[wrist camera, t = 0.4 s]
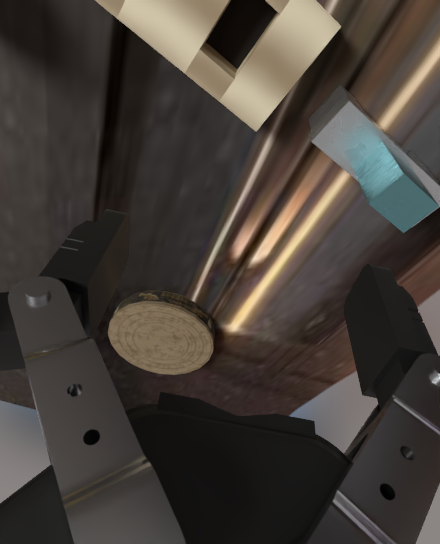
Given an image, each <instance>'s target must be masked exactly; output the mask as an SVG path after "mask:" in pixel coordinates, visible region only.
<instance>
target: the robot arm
mask: <svg viewBox="0 0 440 544" xmlns="http://www.w3.org/2000/svg"><path fill="white" fill-rule="evenodd" d="M129 239H130V215H129V214H128V213H123V212H119V211H114V210H109V209H106V210H105V211H104V212H103V213H102V215H101V216H100V218H99V219H98V221H97V222H92V221H85V222H84V223H82V224H80V225H78V226H77V227H75V228H74V229H73V230H72V232H71V233H70V234H69V236H68V237H67V240H65V241H64V243H63V244H62V245H61V248H59V249H58V251H57V252H56V253H55V255H54V256H53V257H52V259H51V260H50V261H49V263H48V264H47V265H46V267H45V268H44V270H43V271H42V272H41V274H40V275H39V276H38V277H32V278H28V279H25V280H23V281H21V282H19V283H18V284H16V285H15V286H14V287H13V288H12V289H11V290H10V292H4V293H0V371H1V370H12V369H22V368H25V369H26V373H27V376H28V380H29V384H30V388H31V391H32V395H33V399H34V403H35V406H36V410H37V413H38V417H39V421H40V425H41V429H42V432H43V436H44V440H45V444H46V448H47V452H48V455H49V459H50V463H51V465H50V466H49V467H47V468H46V469H45V470H43V471H42V472H41V473H40V474H38V475H37V476H36V477H34V478H33V479H32V480H30V481H29V482H28V483H27V484H25V485H24V486H23V487H21V488H20V489H19V490H17V491H16V492H15V493H13V494H12V495H11V496H9V498H7V499H6V500H4V501H3V502H2V503H0V544H416V541H417V538H418V536H419V534H420V531H421V529H422V526H423V524H424V521H425V519H426V516H427V514H428V511H429V509H430V506H431V504H432V501H433V499H434V496H435V493H436V491H437V489H438V486H439V484H440V356H438V354H437V351H436V349H435V347H434V345H433V342H432V340H431V338H430V336H429V334H428V331H427V329H426V326H425V324H424V323H423V322H422V321H423V320H422V317H421V315H420V313H418V308H417V306H416V304H415V302H414V299H413V298H412V297H411V295H410V294H409V293H408V292H407V291H406V290H405V289H404V288H403V287H402V286H398V284H397V282H396V279H395V277H394V274H393V272H392V270H391V269H388V268H384V267H379V266H374V265H369V264H367V265H365V266H364V268H363V269H362V271H361V273H360V274H359V276H358V278H357V280H356V282H355V283H354V285H353V287H352V289H351V291H350V292H349V294H348V296H347V298H346V301H345V306H344V315H345V319H346V324H347V328H348V333H349V337H350V342H351V346H352V351H353V355H354V360H355V364H356V369H357V373H358V378H359V382H360V387H361V391H362V395H364V396H370V397H374V398H377V400H378V405H377V406H376V408H375V409H374V410H373V411H372V413H371V414H370V416H369V418H368V419H367V420H366V422H365V424H364V425H363V426H362V428H361V429H360V431H359V432H358V434H357V436H356V437H355V439H354V440H353V441H352V443H351V444H350V446H349V447H348V449H347V450H346V452H345V453H344V454H343V453H342V452H341V451H340V450H339V449H338V448H337V447H335V446H334V445H333V444H331V443H330V442H329V441H327V440H325V439H324V438H322V437H320V436H318V435H316V434H315V425H314V421H311V420H306V419H300V418H295V417H290V416H285V415H279V414H269V415H253V416H236V415H233V414H231V413H229V412H226V411H224V410H222V409H220V408H217V407H215V406H213V405H211V404H209V403H206V402H204V401H202V400H200V399H196V398H190V397H185V396H180V395H175V394H169V393H164V392H161V393H160V397H159V401H158V403H156V404H147V405H142V406H138V407H135V408H131V409H129V410H127V411H125V410H124V408H123V406H122V403H121V401H120V399H119V396H118V394H117V392H116V389H115V387H114V385H113V383H112V380H111V378H110V376H109V373H108V371H107V369H106V366H105V364H104V362H103V359H102V357H101V355H100V353H99V350H98V348H97V346H96V343H95V341H94V340H93V336H94V334H95V332H96V329H97V327H98V325H99V323H100V321H101V319H102V317H103V315H104V312H105V310H106V308H107V306H108V304H109V302H110V300H111V298H112V296H113V293H114V291H115V289H116V287H117V285H118V283H119V281H120V279H121V276H122V274H123V272H124V270H125V268H126V265H127V261H128V256H129Z"/></svg>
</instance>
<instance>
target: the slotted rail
mask: <svg viewBox="0 0 440 544" xmlns="http://www.w3.org/2000/svg"><path fill="white" fill-rule="evenodd" d="M95 1H96V2H98V3H99V4H100V5H101V6H102V7H104V8H105V9H106V10H107V11H109V12H110V13H111V14H112V15H114V16H115V17H116V18H117V19H118V20H120V21H121V22H122V23H123V24H125V25H126V26H127V27H128V28H129V29H131V30H132V31H133V32H134V33H136V34H137V35H138V36H139V37H141V38H142V39H143V40H144V41H145V42H147V43H148V44H149V45H150V46H152V47H153V48H154V49H155V50H157V51H158V52H159V53H160V54H161V55H163V56H164V57H165V58H166V59H168V60H169V61H170V62H171V63H172V64H174V65H175V66H176V67H177V68H179V69H180V70H181V71H182V72H184V73H185V74H186V75H187V76H188V77H190V78H191V79H192V80H193V81H195V82H196V83H197V84H198V85H200V86H201V87H202V88H203V89H204V90H206V91H207V92H208V93H209V94H211V95H212V96H213V97H214V98H216V99H217V100H218V101H219V102H220V103H222V104H223V105H224V106H225V107H227V108H228V109H229V110H230V111H231V112H233V113H234V114H235V115H236V116H238V117H239V118H240V119H241V120H243V121H244V122H245V123H246V124H247V125H249V126H250V127H251V128H252V129H254V130H255V131H257V130H258V129H259V128H260V126H261V125H262V124H263V123H264V122H265V120H266V119H267V118H268V117H269V115H270V114H271V113H272V112H273V110H274V109H275V108H276V107H277V105H278V104H279V103H280V102H281V101H282V99H283V98H284V97H285V96H286V94H287V93H288V92H289V91H290V89H291V88H292V87H293V86H294V84H295V83H296V82H297V81H298V80H299V78H300V77H301V76H302V75H303V73H304V72H305V71H306V70H307V68H308V67H309V66H310V65H311V63H312V62H313V61H314V60H315V59H316V57H317V56H318V55H319V54H320V52H321V51H322V50H323V49H324V47H325V46H326V45H327V44H328V42H329V41H330V40H331V39H332V38H333V36H334V35H335V34H336V33H337V31H338V30H339V29H340V28H341V26H340V25H339V24H338V23H337V22H336V21H335V20H334V19H333V17H332V16H331V15H330V14H329V13H328V12H327V11H326V10H325V9H324V8H323V7H322V6H321V5H320V4H319V3H318V2H317V1H316V0H266V1H267V2H268V3H269V4H270V5H271V6H272V7H273V8H274V9H275V10H276V11H277V13H276V14H275V16H274V17H273V19H272V20H271V22H270V23H269V25H268V26H267V27H266V29H265V30H264V32H263V33H262V35H261V36H260V38H259V39H258V40H257V42H256V43H255V45H254V46H253V48H252V49H251V50H250V52H249V53H248V55H247V56H246V58H245V59H244V61H243V62H242V63H241V65H240V66H239V68H238V69H237V68H235V67H234V66H233V65H232V64H231V63H230V62H228V61H227V60H226V59H225V58H224V57H223V56H221V55H220V54H219V53H218V52H217V51H216V50H215V49H213V48H212V47H211V46H210V45H209V44H208V43H206V40H207V39H208V37H209V35H210V34H211V32H212V30H213V29H214V27H215V26H216V24H217V22H218V21H219V19H220V17H221V16H222V14H223V13H224V11H225V9H226V8H227V6H228V4H229V3H230V1H231V0H95Z"/></svg>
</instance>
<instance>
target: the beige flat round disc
mask: <svg viewBox="0 0 440 544" xmlns="http://www.w3.org/2000/svg"><path fill="white" fill-rule="evenodd" d="M108 335H109V339H110V342H111V345H112V346H113V347H114V349H115V350H116V351H117V352H118V354H119V355H120V356H122V357H123V358H124V359H126V360H127V361H128V362H130V363H131V364H133V365H135V366H137V367H139V368H142V369H144V370H147V371H151V372H155V373H159V374H173V375H175V374H182V373H189V372H191V371H194V370H196V369H199V368H201V367H202V366H203V365H204V364H205V363H206V362H207V361H209V359H210V357H211V354H212V352H213V348H214V341H215V326H214V324H213V322H212V320H211V318H210V316H209V314H208V313H207V312H206V311H205V310H203V309H202V308H201V307H200V306H199V305H198V304H197V303H195V302H193V301H191V300H190V299H188V298H186V297H184V296H181V295H178V294H174V293H171V292H167V291H145V292H140V293H135V294H133V295H131V296H129V297H128V298H126V299H124V300H122V302H121V303H120V304H119V306H118V307H117V308H116V310H115V312H114V314H113V316H112V319H111V321H110V323H109V330H108Z"/></svg>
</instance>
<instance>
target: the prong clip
mask: <svg viewBox="0 0 440 544" xmlns="http://www.w3.org/2000/svg"><path fill="white" fill-rule="evenodd" d="M309 123H310V126H311V130H312V131H311V132H310V133H309V134H310V138H311V142H313V143H314V144H315V145H316V146H317V147H318V148H320V149H321V150H322V151H323V152H324V153H325V154H327V155H328V156H329V157H330V158H331V159H332V160H334V161H335V162H336V163H337V164H338V165H339V166H341V167H342V168H343V169H344V170H345V171H347V172H348V173H349V174H350V175H351V176H352V177H354V178H355V179H356V180H357V181H358V182H359V183H360V185H361V188H362V190H363V192H364V195H365V197H366V199H367V201H368V204H370V205H371V206H372V207H373V208H374V209H376V210H377V211H378V212H379V213H380V214H382V215H383V216H384V217H385V218H386V219H388V220H389V221H390V222H391V223H392V224H394V225H395V226H396V227H397V228H398V229H399V230H401V231H402V232H403V233H404V232H406V231H407V230H408V229H410V228H411V227H413V226H415V225H416V224H417V223H419V222H420V221H421V220H423V219H424V218H425V217H427V216H428V215H429V214H431V213H432V212H433V211H435V210H436V209H437V208H439V207H440V183H439V182H438V181H437V180H436V178H435V177H434V176H433V175H432V173H431V172H430V171H429V170H428V168H427V167H426V166H425V165H424V163H423V162H422V161H421V160H420V159H419V158H418V157H417V156H415V155H414V154H413V153H412V152H411V151H409V152H406V151H405V150H404V149H402V148H401V147H400V146H399V145H398V144H397V143H396V142H395V141H394V140H393V139H392V138H391V137H390V136H389V135H388V134H387V133H386V132H384V131H383V130H382V129H381V128H380V127H379V126H378V125H377V124H376V123H375V122H374V121H373V120H372V119H371V118H370V117H369V116H368V115H367V114H366V113H365V112H364V110H363V109H362V107H361V106H360V104H359V103H358V102H357V100H356V99H355V97H354V96H353V95H351V94H350V93H349V92H348V91H347V90H346V89H345V88H344V87H343V86H342V85H341V84H339V85H338V86H337V87H336V89H335V90H334V91H333V92H332V93H331V94H330V95H329V97H328V98H327V99H326V100H325V101H324V102H323V103H322V104H321V106H320V107H319V108H318V109H317V110H316V111H315V112H314V113H313V115H312V116H311V117H310V118H309Z"/></svg>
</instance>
